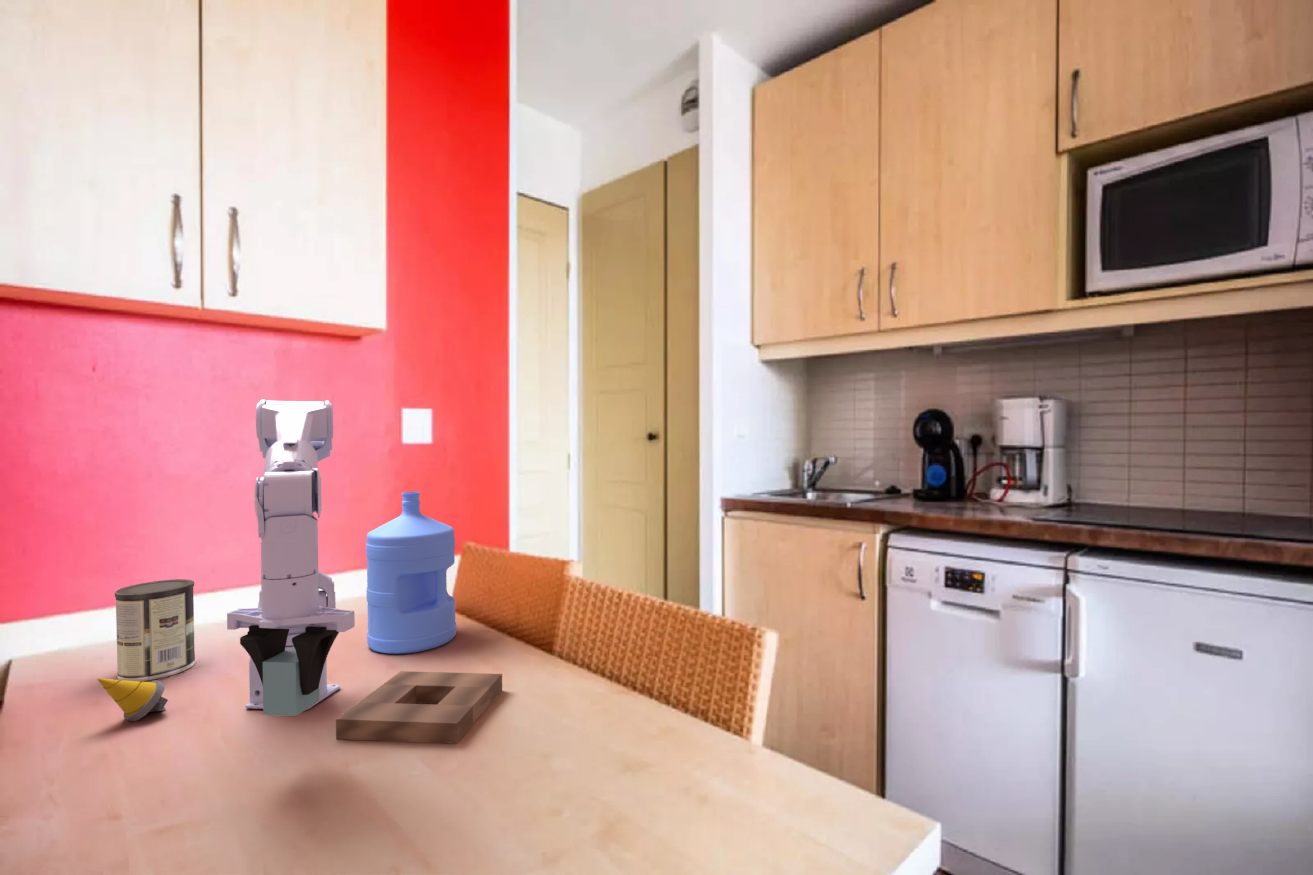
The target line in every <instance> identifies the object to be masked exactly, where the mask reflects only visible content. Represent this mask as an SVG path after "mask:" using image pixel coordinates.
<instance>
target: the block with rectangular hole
mask: <svg viewBox="0 0 1313 875" xmlns="http://www.w3.org/2000/svg"><path fill="white" fill-rule="evenodd" d="M501 692H503V674H502V673H483V672H482V673H480V672H479V673H477V672H443V671H441V672H439V671H438V672H437V671H408V670H405V671H404V670H402V671H399V672H398V673H397V674H395V675H394V676H392V677H391V678H390V679H388V680H387V681H386V682H384V683H383V684H382V685H380V686H379V687H377V688H376V689H375V690H373V691H372V692H370V693H369V694H368V695H367V696H365V697H364V698H363V699H361V700H359V702H357V703H356V704H354V705H353V706H351V707H350V708H349V709H348V710H346V711H345V712H344V713H342V714H341V715H340V716H337V718H336V719H335V739H337V740H358V741H360V740H361V741H381V742H382V741H384V742H407V743H409V742H410V743H411V742H412V743H414V742H415V743H430V744H431V743H434V744H435V743H437V744H458V743H459V742H460V741H461V740H462V738H463V737H464V736H465V735H466V734H467V733H468V731H469V730H470V729H471V728H472V726H474V725H475V723H476V722H477V721H478V720H479V718H481V716H482V715H483V714H484V712H486V710H487V709H488V708H489V707H490V705H491V704H492V703H493V702H494V701H495V700H496V699H497V697H498V696H499V695H500V694H501Z"/></svg>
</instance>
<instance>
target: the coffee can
mask: <svg viewBox="0 0 1313 875" xmlns="http://www.w3.org/2000/svg"><path fill="white" fill-rule="evenodd" d="M194 586H195V581H194V580H192V579H177V578H176V579H164V580H157V581H147V582H141V583H137V584H132V585H129V586H125V587H122V588H120V589H117V590H115V592H114V597H115V621H116V622H115V623H116V660H117V661H116V662H117V663H116V664H117V667H116V668H117V676H116V680H119V681H122V680H127V681H139V682H149V681H154V680H159V679H163V678H167V677H170V676H174V675H177V674H179V673H180V674H181V673H183V672H186V671H187V670H189V669H190V668H192V667H193V666H195V664H196V659H195V658H196V656H195V655H196V654H195V616H194V615H195V614H194V613H195V612H194V607H195V606H194V604H195V603H194Z"/></svg>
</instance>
